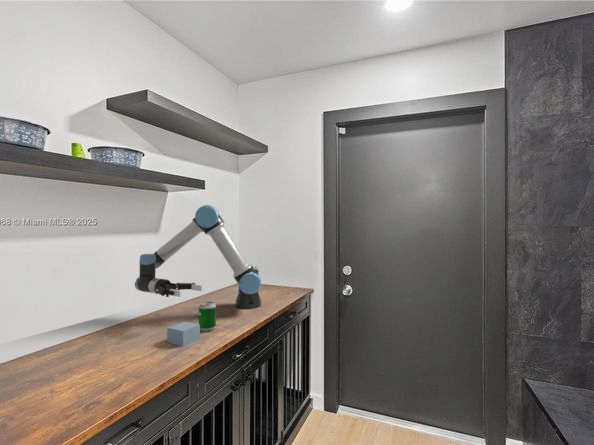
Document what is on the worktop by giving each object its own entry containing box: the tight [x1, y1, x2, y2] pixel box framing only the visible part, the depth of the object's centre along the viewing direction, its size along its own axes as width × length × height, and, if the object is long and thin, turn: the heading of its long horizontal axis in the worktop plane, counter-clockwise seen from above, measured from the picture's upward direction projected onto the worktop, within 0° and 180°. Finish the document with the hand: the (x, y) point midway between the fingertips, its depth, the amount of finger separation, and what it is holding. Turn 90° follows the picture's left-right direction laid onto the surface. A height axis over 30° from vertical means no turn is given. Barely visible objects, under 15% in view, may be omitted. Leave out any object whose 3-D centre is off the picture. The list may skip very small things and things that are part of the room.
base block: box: [166, 321, 201, 347], centre depth 131 cm, size 9×9×6 cm
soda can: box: [198, 301, 217, 333], centre depth 145 cm, size 8×8×12 cm
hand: (191, 290), depth 149 cm, fingers open, 13 cm apart
